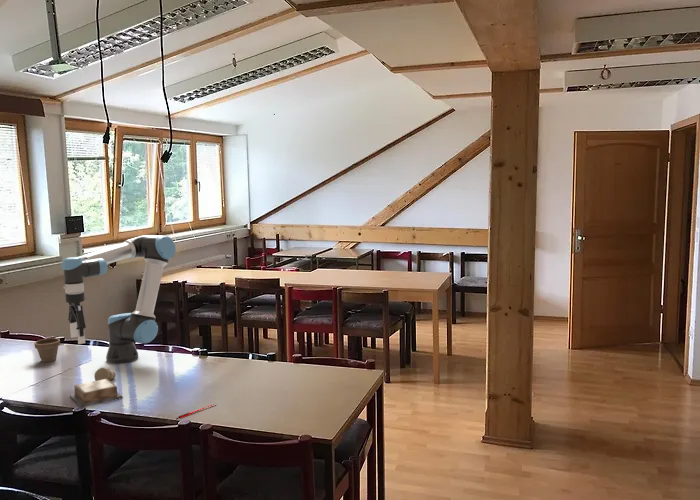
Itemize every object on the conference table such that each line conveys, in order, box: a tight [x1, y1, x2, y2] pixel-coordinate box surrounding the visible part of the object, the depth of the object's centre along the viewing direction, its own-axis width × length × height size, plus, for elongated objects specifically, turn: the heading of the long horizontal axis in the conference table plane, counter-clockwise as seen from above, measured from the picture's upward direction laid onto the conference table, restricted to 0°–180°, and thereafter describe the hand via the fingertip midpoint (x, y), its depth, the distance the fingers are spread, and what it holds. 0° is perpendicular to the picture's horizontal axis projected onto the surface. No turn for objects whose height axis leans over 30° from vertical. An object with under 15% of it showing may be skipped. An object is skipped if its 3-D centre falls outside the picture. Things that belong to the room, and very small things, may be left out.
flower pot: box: [34, 337, 61, 363], centre depth 298 cm, size 12×11×10 cm
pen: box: [175, 404, 214, 420], centre depth 229 cm, size 1×19×1 cm, turn 141°
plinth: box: [69, 379, 123, 408], centre depth 245 cm, size 16×16×5 cm
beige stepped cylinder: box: [94, 367, 117, 382], centre depth 265 cm, size 8×10×10 cm
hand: (77, 340), depth 261 cm, fingers open, 13 cm apart
